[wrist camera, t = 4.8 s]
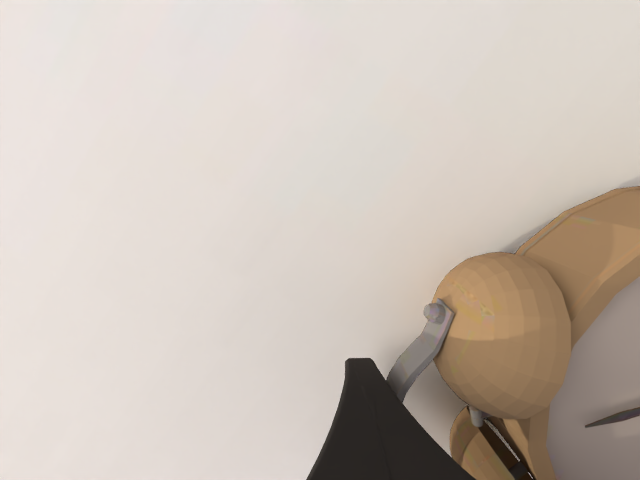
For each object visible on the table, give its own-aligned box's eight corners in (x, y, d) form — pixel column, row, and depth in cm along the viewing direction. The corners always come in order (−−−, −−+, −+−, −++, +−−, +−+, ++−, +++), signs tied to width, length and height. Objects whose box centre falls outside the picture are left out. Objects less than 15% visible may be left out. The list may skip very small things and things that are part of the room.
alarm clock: (882, 485, 11) (464, 681, 9) (691, 385, 15) (395, 504, 14) (979, 134, 8) (382, 341, 6) (704, 145, 12) (329, 263, 11)
